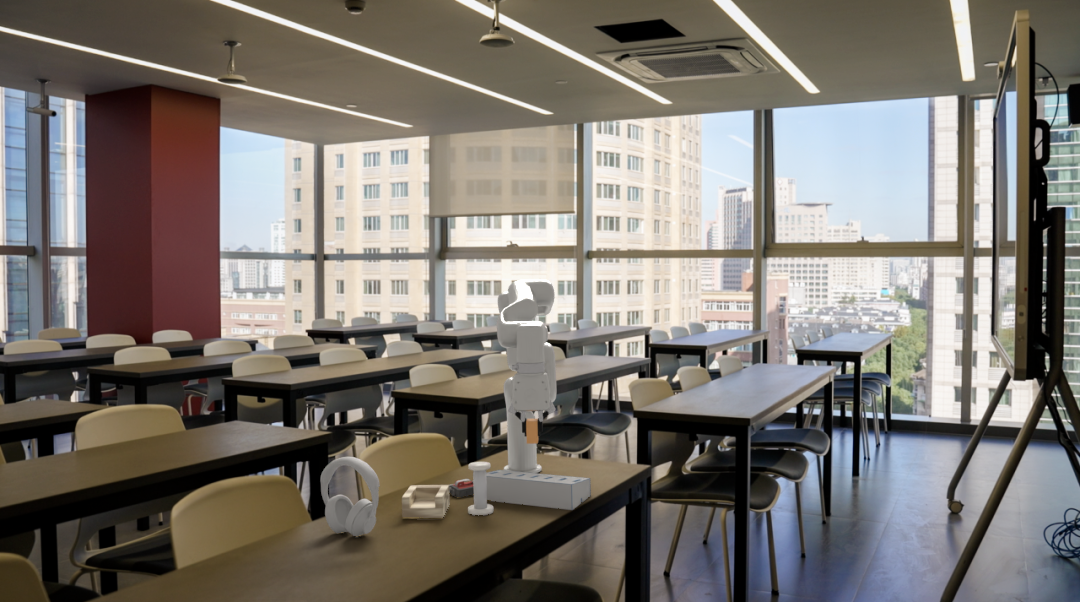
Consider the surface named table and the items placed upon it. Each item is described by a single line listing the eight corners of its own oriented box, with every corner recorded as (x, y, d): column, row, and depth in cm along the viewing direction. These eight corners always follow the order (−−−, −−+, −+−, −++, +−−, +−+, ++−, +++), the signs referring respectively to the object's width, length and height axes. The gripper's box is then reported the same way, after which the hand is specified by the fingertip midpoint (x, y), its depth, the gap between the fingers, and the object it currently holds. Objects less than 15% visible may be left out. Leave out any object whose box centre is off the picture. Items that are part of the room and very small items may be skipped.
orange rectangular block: (527, 440, 215) (527, 418, 215) (538, 440, 215) (537, 418, 215) (526, 443, 210) (526, 421, 210) (537, 443, 210) (537, 421, 210)
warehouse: (590, 497, 227) (590, 471, 227) (572, 511, 214) (571, 484, 214) (499, 488, 239) (498, 463, 239) (476, 500, 226) (476, 475, 226)
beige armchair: (411, 506, 221) (410, 485, 221) (449, 505, 221) (449, 484, 220) (402, 519, 209) (401, 497, 209) (443, 519, 209) (442, 496, 208)
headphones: (389, 535, 196) (386, 457, 196) (367, 545, 189) (365, 464, 189) (336, 525, 205) (333, 450, 205) (313, 534, 199) (311, 456, 198)
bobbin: (469, 508, 218) (468, 461, 217) (494, 507, 218) (493, 461, 217) (466, 515, 211) (465, 467, 210) (492, 515, 211) (490, 467, 210)
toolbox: (482, 486, 242) (422, 496, 232) (482, 472, 242) (422, 482, 232) (495, 492, 235) (434, 503, 224) (495, 478, 234) (434, 488, 224)
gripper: (500, 370, 209) (501, 438, 210) (560, 369, 208) (562, 437, 209) (502, 367, 216) (504, 433, 217) (560, 366, 216) (562, 432, 217)
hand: (532, 434), depth 213 cm, fingers closed on orange rectangular block, 2 cm apart
